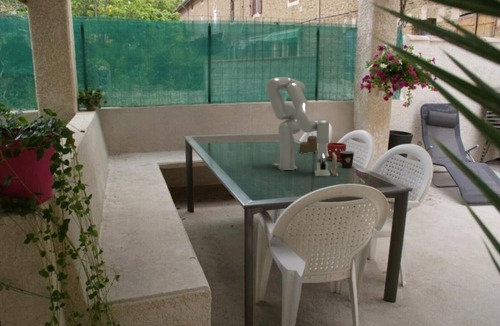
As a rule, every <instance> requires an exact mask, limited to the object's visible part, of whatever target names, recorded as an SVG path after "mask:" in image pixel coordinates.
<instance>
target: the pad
mask: <svg viewBox="0 0 500 326" xmlns="http://www.w3.org/2000/svg"><path fill="white" fill-rule="evenodd" d="M313 172H314V175H315V177H319V176H321V177H323V176H324V177H325V176H326V177H329V176H331V173H330V171H329V170H328V174H318V173H317V170H314V171H313Z"/></svg>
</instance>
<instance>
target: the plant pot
mask: <svg viewBox="0 0 500 326" xmlns="http://www.w3.org/2000/svg"><path fill="white" fill-rule="evenodd" d="M341 151H347V144H346V143H344V142H329V143H327V155H328V157H327V159H328V160H329V161H331V160H332V156H333V153H335V154H340V155H341ZM340 155H336V156H337V160H339V161H340V160H341V157H340ZM339 161H338V162H339ZM340 162H341V161H340Z"/></svg>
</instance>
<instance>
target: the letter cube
mask: <svg viewBox="0 0 500 326" xmlns="http://www.w3.org/2000/svg"><path fill="white" fill-rule="evenodd" d="M325 162H326V170H320V163H321V162H319V161H317V162H316V171H317V173H318V174H328V171H329V169H328V167H329V163H328V162H327V161H325Z"/></svg>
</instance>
